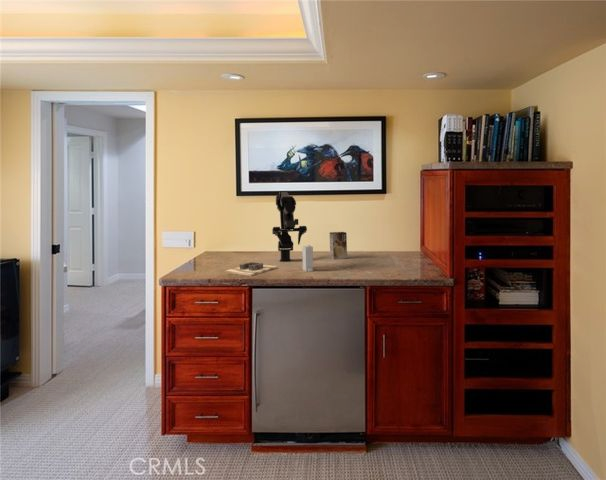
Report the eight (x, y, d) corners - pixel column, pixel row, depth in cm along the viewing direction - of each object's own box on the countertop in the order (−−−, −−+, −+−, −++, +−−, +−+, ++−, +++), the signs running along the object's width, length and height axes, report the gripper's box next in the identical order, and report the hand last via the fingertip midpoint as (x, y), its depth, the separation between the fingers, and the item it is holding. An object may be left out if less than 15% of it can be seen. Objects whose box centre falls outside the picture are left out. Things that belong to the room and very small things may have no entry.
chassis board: (252, 265, 276) (251, 259, 275) (277, 267, 266) (277, 261, 266) (224, 272, 255) (224, 266, 255) (250, 275, 246) (250, 269, 245)
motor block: (302, 269, 259) (302, 244, 258) (309, 269, 261) (309, 244, 259) (307, 271, 254) (306, 246, 252) (314, 271, 255) (313, 245, 254)
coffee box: (343, 256, 298) (343, 231, 296) (347, 258, 292) (347, 232, 290) (329, 257, 296) (329, 232, 294) (333, 259, 290) (332, 233, 288)
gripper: (272, 214, 256) (274, 242, 252) (307, 213, 258) (309, 241, 255) (271, 219, 266) (273, 247, 263) (304, 218, 269) (306, 245, 265)
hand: (290, 245), depth 261 cm, fingers open, 9 cm apart
